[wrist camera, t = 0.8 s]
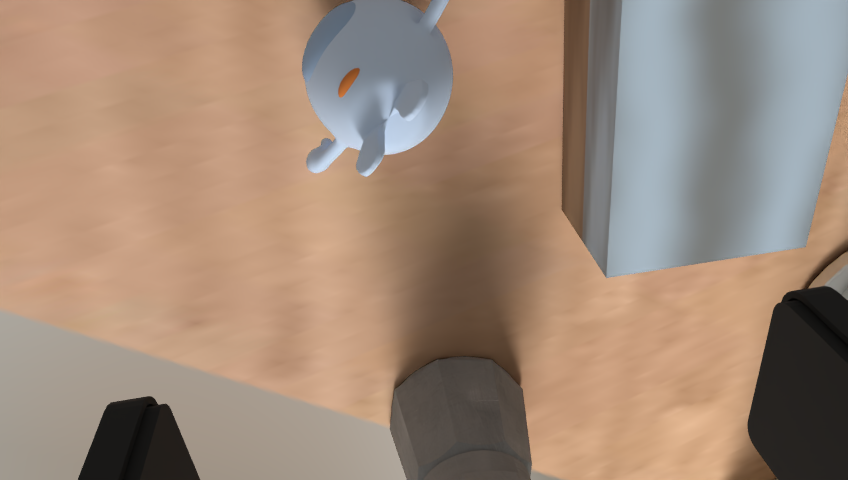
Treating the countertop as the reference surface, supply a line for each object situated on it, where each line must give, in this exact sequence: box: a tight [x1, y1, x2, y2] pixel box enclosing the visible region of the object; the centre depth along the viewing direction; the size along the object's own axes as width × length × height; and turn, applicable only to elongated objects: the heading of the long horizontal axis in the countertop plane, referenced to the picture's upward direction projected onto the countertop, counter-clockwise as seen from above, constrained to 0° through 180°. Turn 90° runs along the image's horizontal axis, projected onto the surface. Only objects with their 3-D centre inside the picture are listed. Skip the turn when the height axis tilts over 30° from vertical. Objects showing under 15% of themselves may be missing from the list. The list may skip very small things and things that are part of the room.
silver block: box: [562, 0, 848, 278], centre depth 31 cm, size 10×14×7 cm
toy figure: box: [302, 0, 453, 177], centre depth 26 cm, size 11×6×12 cm, turn 143°
